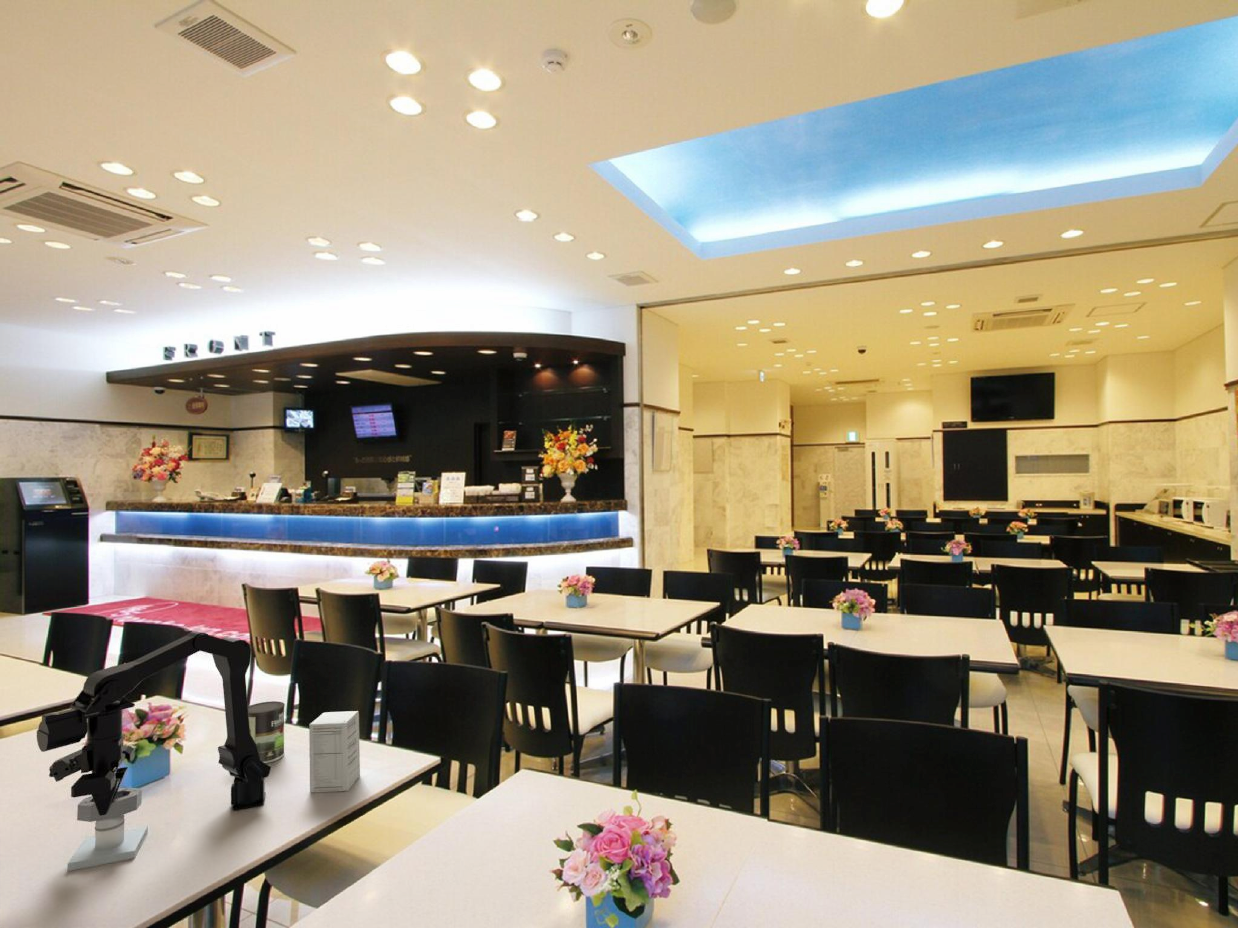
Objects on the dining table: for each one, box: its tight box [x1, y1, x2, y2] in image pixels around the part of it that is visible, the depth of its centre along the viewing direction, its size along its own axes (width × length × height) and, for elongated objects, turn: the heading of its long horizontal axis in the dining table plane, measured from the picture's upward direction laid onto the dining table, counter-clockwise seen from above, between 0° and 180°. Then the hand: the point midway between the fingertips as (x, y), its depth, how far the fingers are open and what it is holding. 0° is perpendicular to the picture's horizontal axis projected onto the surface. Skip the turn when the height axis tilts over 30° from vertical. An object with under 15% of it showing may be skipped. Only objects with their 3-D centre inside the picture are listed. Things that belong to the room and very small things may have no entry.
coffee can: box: [248, 700, 286, 765], centre depth 188 cm, size 10×10×14 cm
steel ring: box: [76, 787, 143, 823], centre depth 141 cm, size 10×10×3 cm
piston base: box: [67, 814, 149, 872], centre depth 140 cm, size 11×11×6 cm
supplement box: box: [308, 710, 361, 793], centre depth 171 cm, size 10×9×17 cm
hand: (104, 812), depth 137 cm, fingers closed on steel ring, 2 cm apart
